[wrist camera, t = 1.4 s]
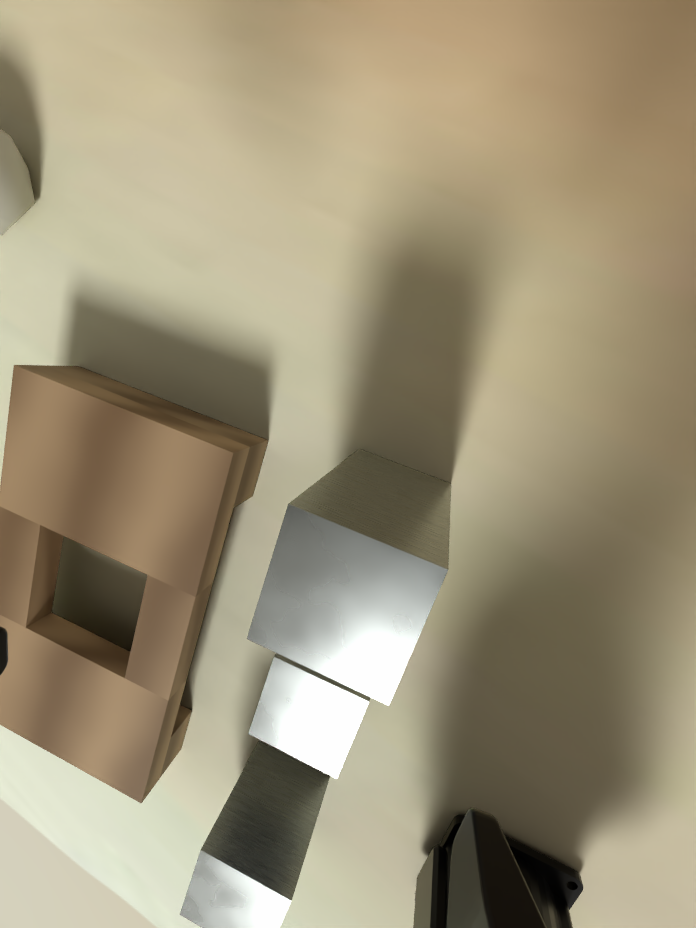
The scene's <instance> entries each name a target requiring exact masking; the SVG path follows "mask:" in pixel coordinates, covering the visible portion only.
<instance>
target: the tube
mask: <svg viewBox="0 0 696 928" xmlns="http://www.w3.org/2000/svg"><path fill="white" fill-rule="evenodd" d="M34 204H35V200H34V195H33V190H32V185H31V180H30V175H29V170H28V168H27V166H26V164H25V162H24V160H23V158H22V156H21V154H20V153H19V151H18V149H17V147H16V145H15V143H14V141H13V139H12V137H11V136H10V135H8V134H7V133H5V132H4V131H2V130H1V129H0V235H3V234H4V233H5V232H6V231H7V230H8V229H9V228H10V227H11V226H12V225H13V224H14V223H15V222H16V221H17V220H18V219H19V218H20V217H21V216H22V215H23V214H24V213H25V212H26V211H27V210H28V209H29V208H30V207H31V206H32V205H34Z"/></svg>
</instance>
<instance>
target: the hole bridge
mask: <svg viewBox="0 0 696 928" xmlns="http://www.w3.org/2000/svg"><path fill="white" fill-rule="evenodd" d="M267 444H268V440H266V439H264V438H261V437H259V436H256V435H253V434H251V433H248V432H246V431H243V430H241V429H238V428H235V427H233V426H230V425H228V424H225V423H223V422H220V421H218V420H215V419H212V418H210V417H207V416H205V415H202V414H200V413H197V412H194V411H192V410H189V409H187V408H184V407H182V406H179V405H177V404H174V403H171V402H169V401H166V400H164V399H161V398H159V397H156V396H153V395H151V394H148V393H146V392H143V391H141V390H138V389H136V388H133V387H130V386H128V385H125V384H123V383H120V382H118V381H115V380H112V379H110V378H107V377H105V376H102V375H100V374H97V373H95V372H92V371H89V370H87V369H84V368H82V367H79V366H37V365H14V370H13V378H12V387H11V396H10V405H9V414H8V423H7V432H6V441H5V450H4V459H3V468H2V477H1V485H0V626H1V627H3V628H5V629H6V631H7V633H8V663H7V666H6V668H5V670H4V671H3V673H2V674H1V675H0V725H2V726H4V727H5V728H7V729H9V730H11V731H13V732H14V733H16V734H18V735H20V736H22V737H23V738H25V739H27V740H29V741H30V742H32V743H34V744H36V745H38V746H39V747H41V748H43V749H45V750H47V751H48V752H50V753H52V754H54V755H56V756H57V757H59V758H61V759H63V760H65V761H66V762H68V763H70V764H72V765H74V766H75V767H77V768H79V769H81V770H82V771H84V772H86V773H88V774H90V775H91V776H93V777H95V778H97V779H99V780H100V781H102V782H104V783H106V784H108V785H109V786H111V787H113V788H115V789H117V790H118V791H120V792H122V793H124V794H125V795H127V796H129V797H131V798H133V799H134V800H136V801H138V802H140V803H142V802H143V800H144V799H145V798H146V796H147V795H148V794H149V792H150V791H151V789H152V788H153V787H154V785H155V784H156V783H157V781H158V780H159V778H160V777H161V776H162V774H163V773H164V772H165V770H166V769H167V768H168V766H169V765H170V763H171V762H172V761H173V759H174V758H175V757H176V755H177V754H178V752H179V751H180V750H181V747H182V744H183V740H184V737H185V733H186V730H187V726H188V723H189V719H190V716H191V712H192V711H191V710H189V709H187V708H185V707H184V706H182V705H180V702H181V698H182V695H183V691H184V687H185V683H186V680H187V676H188V672H189V669H190V665H191V661H192V658H193V654H194V650H195V647H196V643H197V639H198V636H199V632H200V628H201V625H202V621H203V617H204V614H205V610H206V606H207V603H208V599H209V595H210V592H211V588H212V584H213V581H214V577H215V573H216V570H217V566H218V562H219V559H220V555H221V551H222V548H223V544H224V540H225V537H226V533H227V529H228V526H229V522H230V518H231V514H232V511H233V508H234V507H236V506H237V505H239V504H241V503H242V502H244V501H245V500H247V499H249V498H250V497H252V496H253V493H254V490H255V486H256V483H257V479H258V475H259V472H260V468H261V465H262V461H263V458H264V454H265V451H266V447H267ZM64 536H65V537H67V538H69V539H71V540H74V541H76V542H78V543H80V544H82V545H84V546H86V547H89V548H91V549H93V550H95V551H97V552H99V553H102V554H104V555H106V556H108V557H110V558H112V559H114V560H117V561H119V562H121V563H123V564H125V565H127V566H130V567H132V568H134V569H136V570H138V571H140V572H143V573H145V574H147V575H148V576H147V581H146V585H145V590H144V594H143V598H142V603H141V607H140V612H139V616H138V621H137V625H136V630H135V634H134V639H133V643H132V647H131V652H130V651H128V650H125V649H123V648H121V647H119V646H117V645H115V644H113V643H111V642H109V641H107V640H105V639H103V638H101V637H99V636H97V635H95V634H93V633H91V632H89V631H87V630H85V629H83V628H81V627H79V626H77V625H75V624H73V623H71V622H69V621H67V620H65V619H63V618H61V617H59V616H57V615H55V614H53V613H51V612H52V606H53V599H54V593H55V587H56V581H57V574H58V568H59V562H60V556H61V549H62V543H63V537H64Z"/></svg>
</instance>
